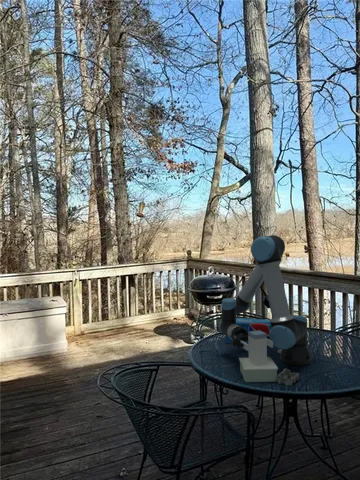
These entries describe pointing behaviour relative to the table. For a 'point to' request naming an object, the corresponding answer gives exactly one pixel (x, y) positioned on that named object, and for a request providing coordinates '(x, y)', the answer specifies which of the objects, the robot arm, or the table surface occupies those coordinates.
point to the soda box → (252, 326)
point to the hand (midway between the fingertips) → (260, 346)
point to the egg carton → (287, 377)
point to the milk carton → (257, 347)
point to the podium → (258, 371)
